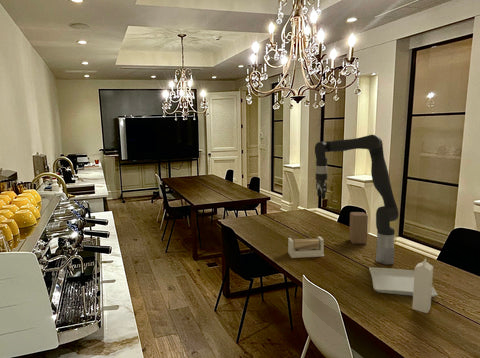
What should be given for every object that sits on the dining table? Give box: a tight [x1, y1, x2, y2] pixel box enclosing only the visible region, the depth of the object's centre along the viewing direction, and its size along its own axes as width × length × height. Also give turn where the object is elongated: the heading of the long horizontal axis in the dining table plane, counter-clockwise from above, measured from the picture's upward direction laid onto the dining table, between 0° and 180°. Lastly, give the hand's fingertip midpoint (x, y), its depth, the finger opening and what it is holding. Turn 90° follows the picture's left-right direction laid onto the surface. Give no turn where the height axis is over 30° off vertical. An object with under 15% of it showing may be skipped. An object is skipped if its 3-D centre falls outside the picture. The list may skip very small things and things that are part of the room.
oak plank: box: [292, 237, 319, 250], centre depth 214 cm, size 4×15×5 cm, turn 95°
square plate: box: [368, 267, 439, 298], centre depth 170 cm, size 27×27×4 cm
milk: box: [411, 258, 434, 314], centre depth 147 cm, size 6×6×22 cm
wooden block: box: [348, 211, 369, 245], centre depth 235 cm, size 10×10×20 cm
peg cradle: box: [287, 236, 325, 259], centre depth 214 cm, size 10×20×10 cm, turn 95°
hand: (321, 197), depth 225 cm, fingers open, 8 cm apart
